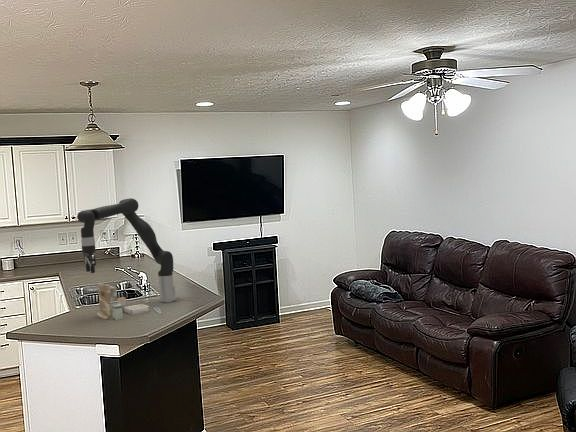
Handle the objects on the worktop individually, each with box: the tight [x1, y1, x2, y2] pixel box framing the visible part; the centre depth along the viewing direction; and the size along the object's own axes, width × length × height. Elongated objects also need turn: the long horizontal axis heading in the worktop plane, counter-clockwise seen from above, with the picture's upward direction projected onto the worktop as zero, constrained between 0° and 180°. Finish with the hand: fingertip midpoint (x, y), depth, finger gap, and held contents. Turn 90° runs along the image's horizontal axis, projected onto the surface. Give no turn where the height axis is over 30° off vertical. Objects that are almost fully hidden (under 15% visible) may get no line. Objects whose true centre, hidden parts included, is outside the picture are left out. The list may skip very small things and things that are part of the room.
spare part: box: [116, 296, 127, 312], centre depth 376 cm, size 4×4×8 cm
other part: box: [112, 303, 124, 321], centre depth 354 cm, size 4×4×8 cm
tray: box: [123, 303, 151, 316], centre depth 371 cm, size 12×12×3 cm
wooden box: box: [96, 282, 118, 320], centre depth 363 cm, size 9×16×20 cm, turn 36°
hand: (90, 272), depth 357 cm, fingers open, 8 cm apart
